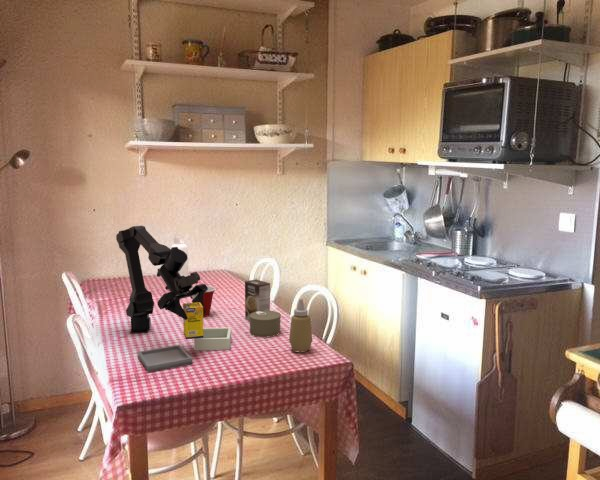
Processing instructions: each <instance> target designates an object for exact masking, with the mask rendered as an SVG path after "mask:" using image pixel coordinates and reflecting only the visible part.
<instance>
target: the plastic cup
mask: <svg viewBox="0 0 600 480" xmlns="http://www.w3.org/2000/svg"><path fill="white" fill-rule="evenodd" d="M195 286H196V285H192V288H191V289H189V290H192V289H193V288H194V287H195ZM206 286H207V288H208V290H207V291H206V292H205V294H204V295H203V301H204V306H205V311H206V313H205V314H203V318H204V317H208V316H210V314H211V307H212V302H213V296H214V294H215V293H214V292H215V291H216V287H215V286H211V285H206Z"/></svg>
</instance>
